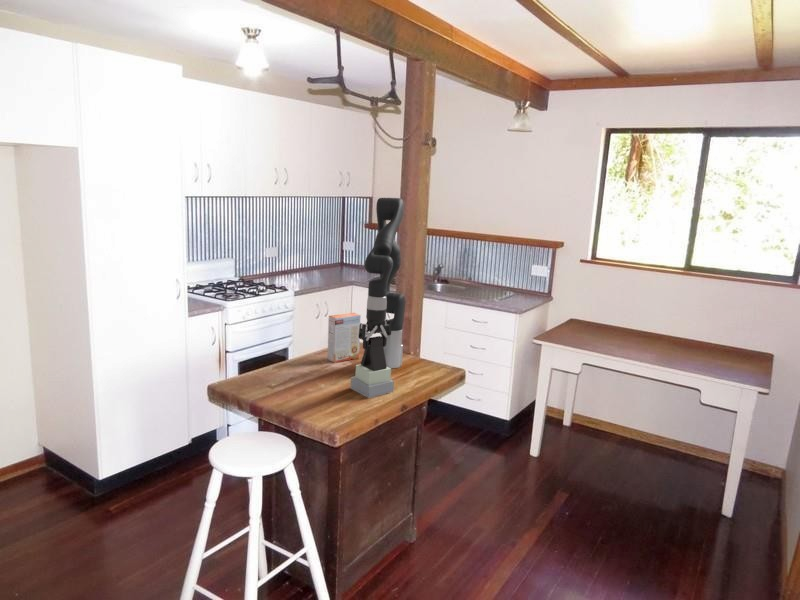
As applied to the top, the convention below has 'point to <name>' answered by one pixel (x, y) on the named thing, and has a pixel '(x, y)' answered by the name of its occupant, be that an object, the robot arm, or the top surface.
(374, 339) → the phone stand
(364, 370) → the tower top block
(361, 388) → the tower base slab
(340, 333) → the cracker box
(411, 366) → the top surface
